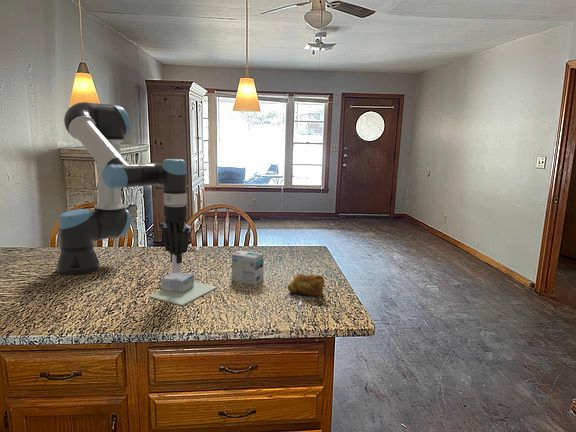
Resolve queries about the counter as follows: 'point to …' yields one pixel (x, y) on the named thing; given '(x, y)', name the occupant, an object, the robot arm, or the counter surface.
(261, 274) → the light bulb box
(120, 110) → the robot arm
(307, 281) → the bread roll
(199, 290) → the cutting board
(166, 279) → the medicine box
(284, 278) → the counter surface
